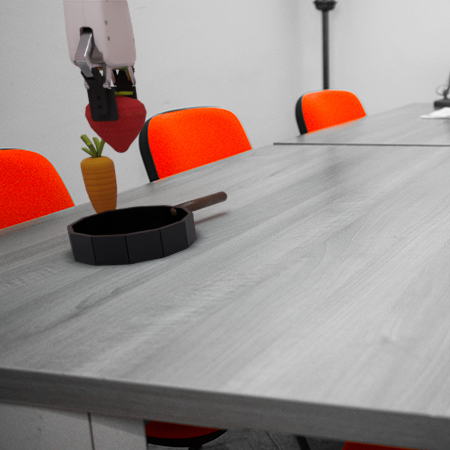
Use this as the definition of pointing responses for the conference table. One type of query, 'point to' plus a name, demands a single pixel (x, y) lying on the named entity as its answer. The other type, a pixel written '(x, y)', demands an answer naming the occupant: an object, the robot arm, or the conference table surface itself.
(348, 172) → the conference table surface
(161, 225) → the pan
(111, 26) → the robot arm
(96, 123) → the strawberry
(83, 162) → the carrot
